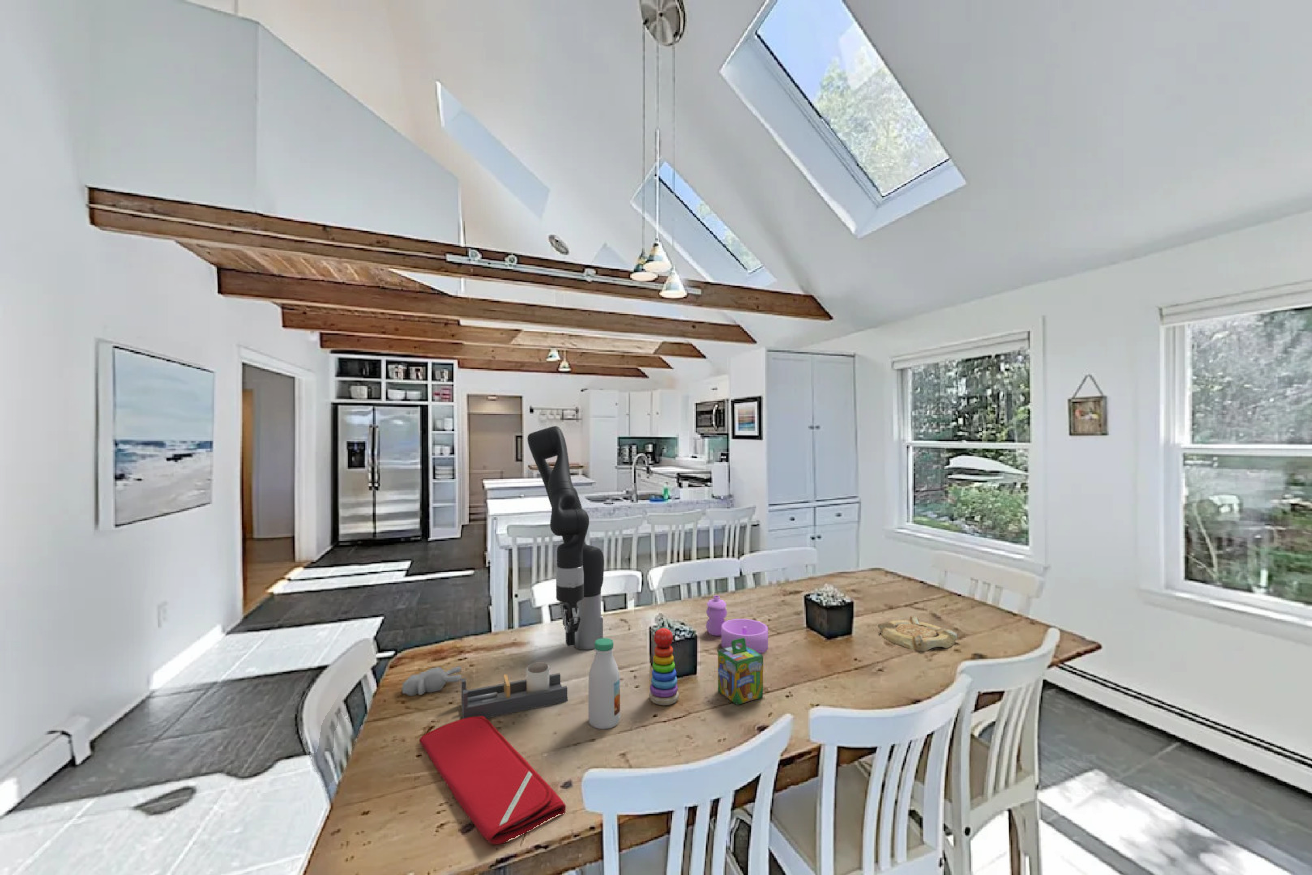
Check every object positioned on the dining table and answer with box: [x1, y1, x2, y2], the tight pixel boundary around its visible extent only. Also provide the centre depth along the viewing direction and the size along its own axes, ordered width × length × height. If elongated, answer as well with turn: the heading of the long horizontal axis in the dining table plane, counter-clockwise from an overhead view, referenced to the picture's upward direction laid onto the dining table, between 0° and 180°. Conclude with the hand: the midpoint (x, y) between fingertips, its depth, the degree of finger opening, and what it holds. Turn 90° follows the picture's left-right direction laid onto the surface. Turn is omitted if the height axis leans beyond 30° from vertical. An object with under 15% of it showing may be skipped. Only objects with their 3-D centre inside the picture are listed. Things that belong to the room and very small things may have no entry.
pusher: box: [468, 674, 510, 703], centre depth 136 cm, size 11×7×5 cm, turn 113°
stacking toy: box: [648, 627, 680, 706], centre depth 141 cm, size 8×8×19 cm
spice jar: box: [526, 661, 550, 694], centre depth 142 cm, size 6×6×8 cm
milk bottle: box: [588, 637, 621, 730], centre depth 130 cm, size 8×8×20 cm
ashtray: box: [877, 615, 958, 652], centre depth 182 cm, size 24×24×5 cm
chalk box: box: [717, 638, 764, 706], centre depth 143 cm, size 9×9×15 cm
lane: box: [460, 672, 568, 719], centre depth 139 cm, size 26×10×7 cm, turn 113°
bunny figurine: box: [401, 666, 462, 697], centre depth 147 cm, size 10×5×15 cm
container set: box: [705, 594, 769, 655], centre depth 179 cm, size 25×15×13 cm, turn 36°
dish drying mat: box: [418, 716, 567, 845], centre depth 110 cm, size 16×41×4 cm, turn 39°
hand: (570, 644), depth 145 cm, fingers closed
